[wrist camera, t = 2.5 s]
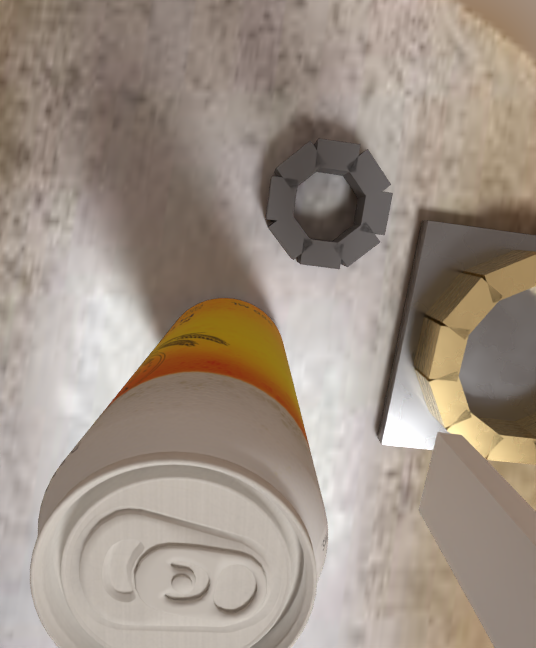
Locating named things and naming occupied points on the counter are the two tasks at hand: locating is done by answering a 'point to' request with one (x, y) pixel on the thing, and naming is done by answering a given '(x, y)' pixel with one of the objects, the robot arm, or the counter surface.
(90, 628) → the beer can
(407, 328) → the collar block
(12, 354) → the counter surface
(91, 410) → the counter surface
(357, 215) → the ring
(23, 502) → the counter surface
